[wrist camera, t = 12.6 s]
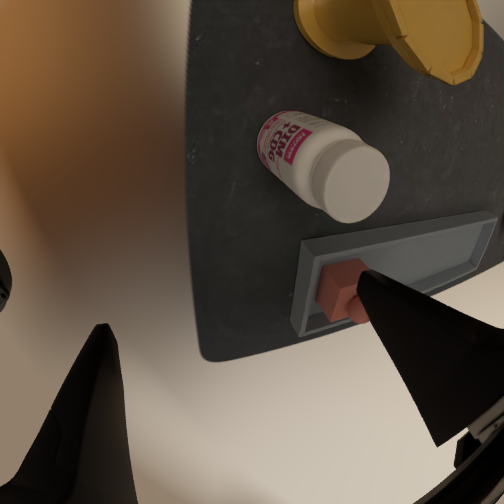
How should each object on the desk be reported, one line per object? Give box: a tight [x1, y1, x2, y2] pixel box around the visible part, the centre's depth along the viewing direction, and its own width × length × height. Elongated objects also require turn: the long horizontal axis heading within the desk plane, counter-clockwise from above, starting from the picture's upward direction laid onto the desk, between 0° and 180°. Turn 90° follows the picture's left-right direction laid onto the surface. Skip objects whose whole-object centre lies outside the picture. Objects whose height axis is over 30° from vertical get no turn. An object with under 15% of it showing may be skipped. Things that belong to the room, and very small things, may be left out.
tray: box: [290, 210, 498, 337], centre depth 31 cm, size 35×10×2 cm, turn 89°
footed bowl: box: [293, 0, 483, 85], centre depth 10 cm, size 8×8×10 cm
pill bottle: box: [257, 111, 390, 223], centre depth 16 cm, size 5×5×8 cm
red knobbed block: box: [315, 258, 370, 324], centre depth 26 cm, size 4×4×6 cm
